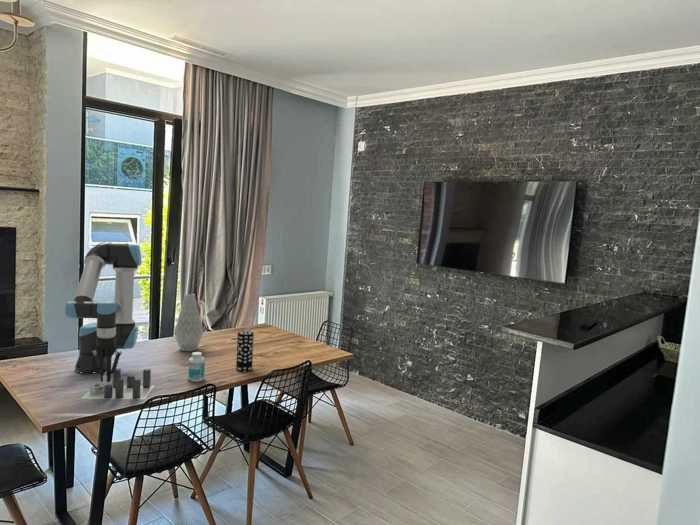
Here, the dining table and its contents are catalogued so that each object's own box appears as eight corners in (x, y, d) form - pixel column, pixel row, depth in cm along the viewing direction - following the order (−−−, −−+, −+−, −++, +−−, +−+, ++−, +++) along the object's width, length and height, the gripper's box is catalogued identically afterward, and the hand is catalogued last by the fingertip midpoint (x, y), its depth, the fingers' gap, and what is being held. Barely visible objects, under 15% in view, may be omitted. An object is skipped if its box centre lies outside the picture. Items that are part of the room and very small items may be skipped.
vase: (206, 346, 307) (207, 293, 304) (198, 353, 291) (200, 297, 287) (178, 344, 307) (179, 291, 303) (169, 352, 290) (171, 296, 287)
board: (80, 401, 213) (80, 398, 213) (94, 387, 230) (94, 385, 230) (144, 401, 217) (144, 399, 217) (154, 387, 234) (154, 385, 233)
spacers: (101, 398, 215) (102, 380, 214) (114, 385, 231) (114, 368, 230) (141, 398, 217) (142, 380, 216) (151, 385, 233) (151, 369, 232)
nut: (88, 394, 218) (88, 387, 218) (93, 389, 224) (93, 382, 224) (100, 394, 219) (100, 387, 219) (105, 389, 225) (105, 383, 224)
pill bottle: (198, 376, 253) (199, 350, 251) (207, 380, 248) (208, 353, 247) (185, 379, 247) (186, 352, 245) (193, 383, 242) (194, 356, 241)
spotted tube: (236, 372, 262) (238, 334, 260) (235, 367, 270) (237, 331, 268) (252, 372, 264) (254, 334, 262) (251, 367, 272) (253, 330, 270)
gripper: (87, 338, 215) (86, 391, 218) (119, 338, 217) (118, 391, 219) (93, 333, 223) (93, 385, 225) (124, 334, 225) (123, 385, 227)
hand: (105, 388), depth 222 cm, fingers closed
